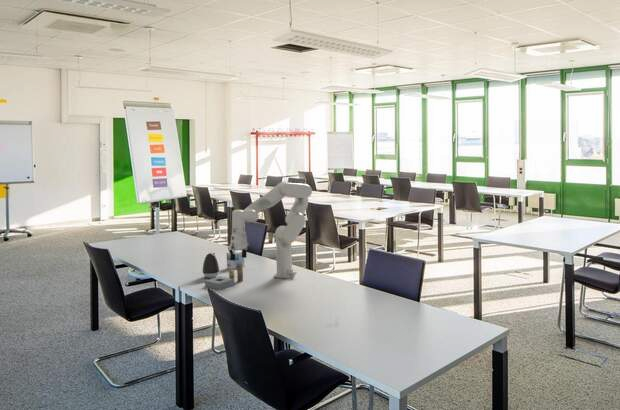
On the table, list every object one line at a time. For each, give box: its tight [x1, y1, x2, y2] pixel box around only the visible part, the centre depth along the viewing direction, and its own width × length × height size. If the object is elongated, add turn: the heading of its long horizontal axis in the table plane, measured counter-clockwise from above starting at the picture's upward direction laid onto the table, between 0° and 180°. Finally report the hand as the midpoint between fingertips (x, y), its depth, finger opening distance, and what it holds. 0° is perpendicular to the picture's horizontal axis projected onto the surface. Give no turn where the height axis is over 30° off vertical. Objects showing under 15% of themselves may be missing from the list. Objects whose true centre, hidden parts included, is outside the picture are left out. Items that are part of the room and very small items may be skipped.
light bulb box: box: [226, 250, 245, 270], centre depth 331 cm, size 11×7×11 cm, turn 143°
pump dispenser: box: [202, 252, 220, 279], centre depth 306 cm, size 10×10×15 cm
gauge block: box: [204, 275, 235, 291], centre depth 287 cm, size 12×12×4 cm
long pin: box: [236, 263, 244, 283], centre depth 296 cm, size 3×3×11 cm
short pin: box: [228, 269, 235, 280], centre depth 303 cm, size 3×3×5 cm
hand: (238, 258), depth 295 cm, fingers open, 9 cm apart
